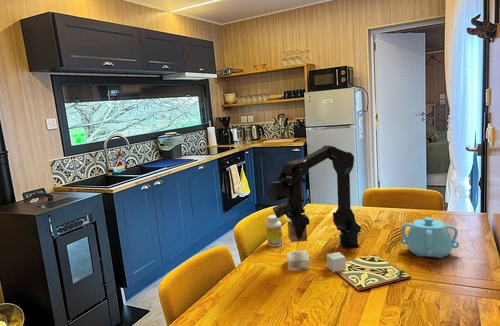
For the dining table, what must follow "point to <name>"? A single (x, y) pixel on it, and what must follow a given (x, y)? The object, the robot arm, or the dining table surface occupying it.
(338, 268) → the grey cube
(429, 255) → the decorative pot
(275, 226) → the supplement bottle
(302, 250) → the walnut card
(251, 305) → the dining table surface
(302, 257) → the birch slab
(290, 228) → the walnut cube
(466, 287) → the dining table surface
